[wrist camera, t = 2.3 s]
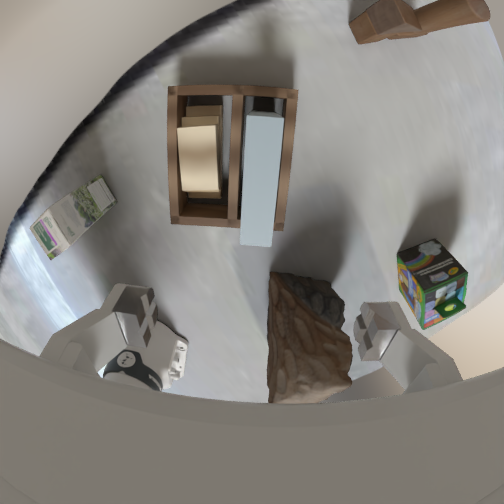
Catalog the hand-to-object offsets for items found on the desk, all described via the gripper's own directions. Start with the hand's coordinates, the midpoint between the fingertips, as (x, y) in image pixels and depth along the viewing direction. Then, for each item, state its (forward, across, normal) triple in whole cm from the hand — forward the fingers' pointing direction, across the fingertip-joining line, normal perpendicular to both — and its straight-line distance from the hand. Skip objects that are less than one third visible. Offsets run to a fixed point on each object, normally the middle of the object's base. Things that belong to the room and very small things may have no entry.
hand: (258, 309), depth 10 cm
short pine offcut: (+26, -8, 0) cm, 27 cm away
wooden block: (+30, +16, +22) cm, 41 cm away
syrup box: (+30, -26, -7) cm, 41 cm away
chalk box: (+30, +31, -16) cm, 46 cm away
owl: (+30, +8, -24) cm, 40 cm away
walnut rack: (+30, -4, 0) cm, 30 cm away
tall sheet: (+30, 0, 0) cm, 30 cm away
